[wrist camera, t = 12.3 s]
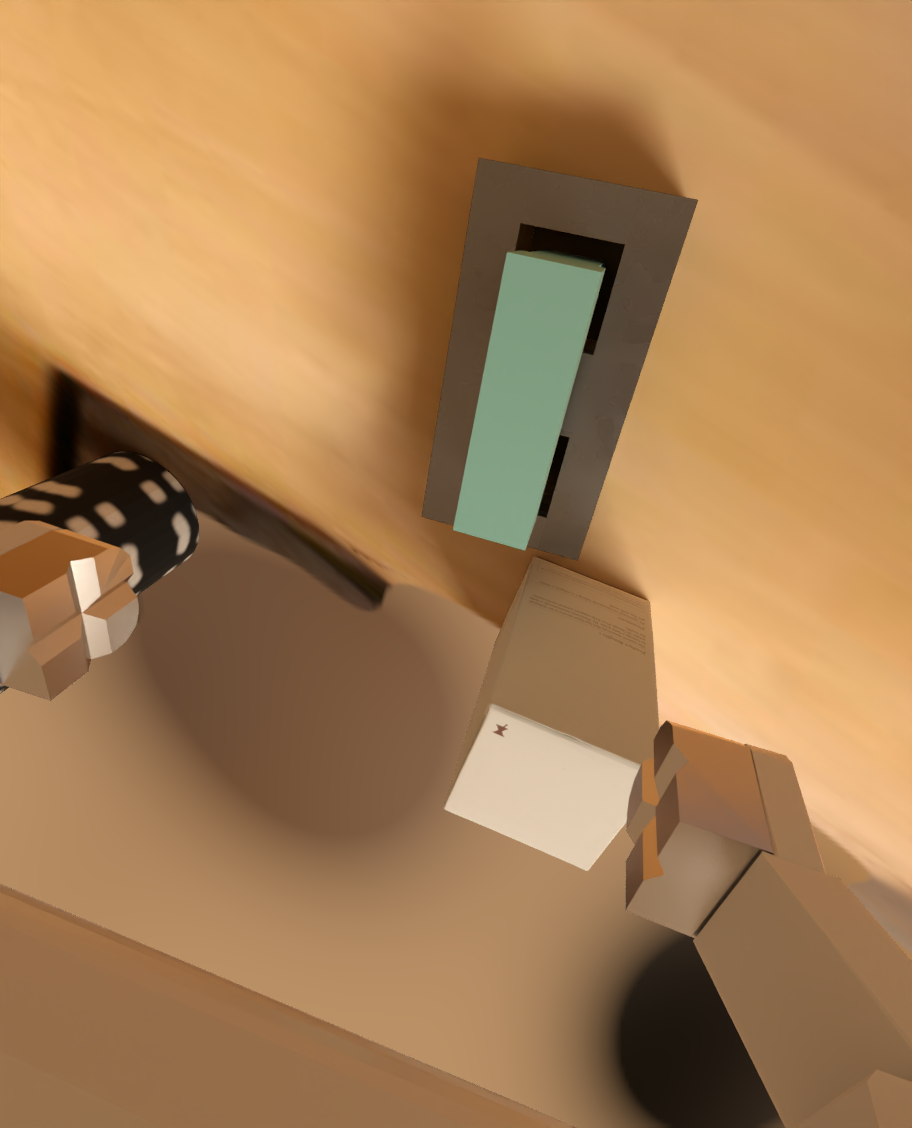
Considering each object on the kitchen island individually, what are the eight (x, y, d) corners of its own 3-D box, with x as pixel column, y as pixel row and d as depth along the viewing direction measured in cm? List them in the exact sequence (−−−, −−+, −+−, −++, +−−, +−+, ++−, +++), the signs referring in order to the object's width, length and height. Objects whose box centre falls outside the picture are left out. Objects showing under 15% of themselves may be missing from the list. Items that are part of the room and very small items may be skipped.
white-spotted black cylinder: (222, 529, 38) (-104, 760, 21) (157, 583, 42) (-160, 814, 25) (128, 426, 36) (-314, 590, 19) (70, 493, 40) (-339, 678, 23)
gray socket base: (688, 205, 24) (698, 199, 20) (583, 526, 31) (577, 560, 28) (499, 169, 25) (478, 157, 21) (443, 487, 32) (421, 516, 29)
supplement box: (491, 644, 37) (434, 809, 26) (534, 551, 33) (487, 700, 22) (600, 691, 36) (587, 878, 26) (656, 601, 32) (668, 778, 22)
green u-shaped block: (610, 262, 25) (602, 272, 18) (551, 473, 30) (525, 550, 23) (544, 248, 26) (507, 252, 18) (497, 458, 31) (453, 530, 23)
